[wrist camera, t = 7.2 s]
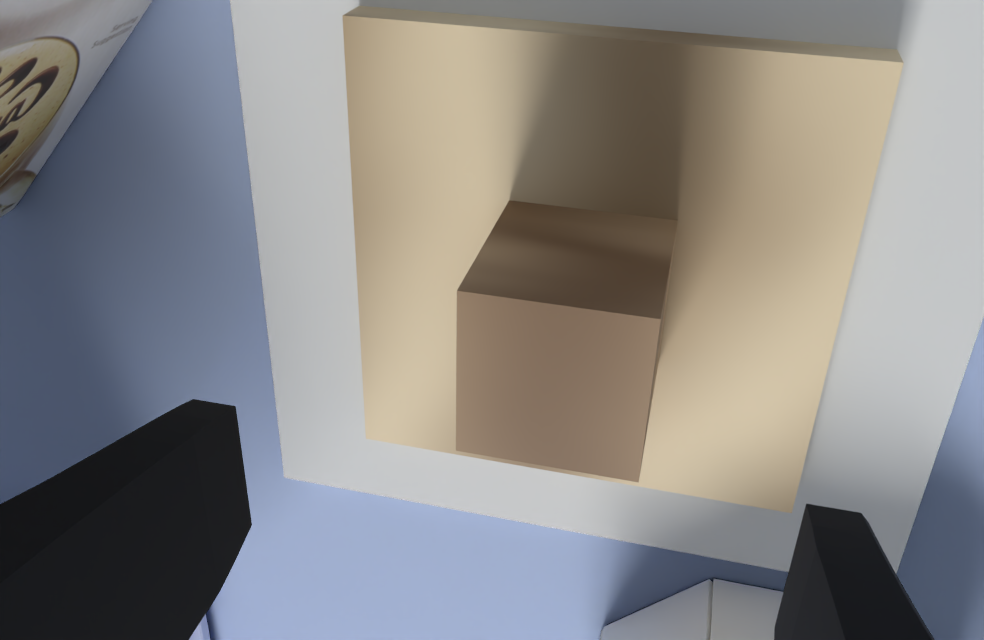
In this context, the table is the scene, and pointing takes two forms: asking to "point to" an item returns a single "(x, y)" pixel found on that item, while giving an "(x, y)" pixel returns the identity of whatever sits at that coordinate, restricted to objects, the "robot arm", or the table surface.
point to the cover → (606, 242)
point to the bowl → (704, 615)
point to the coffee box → (51, 76)
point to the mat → (861, 331)
